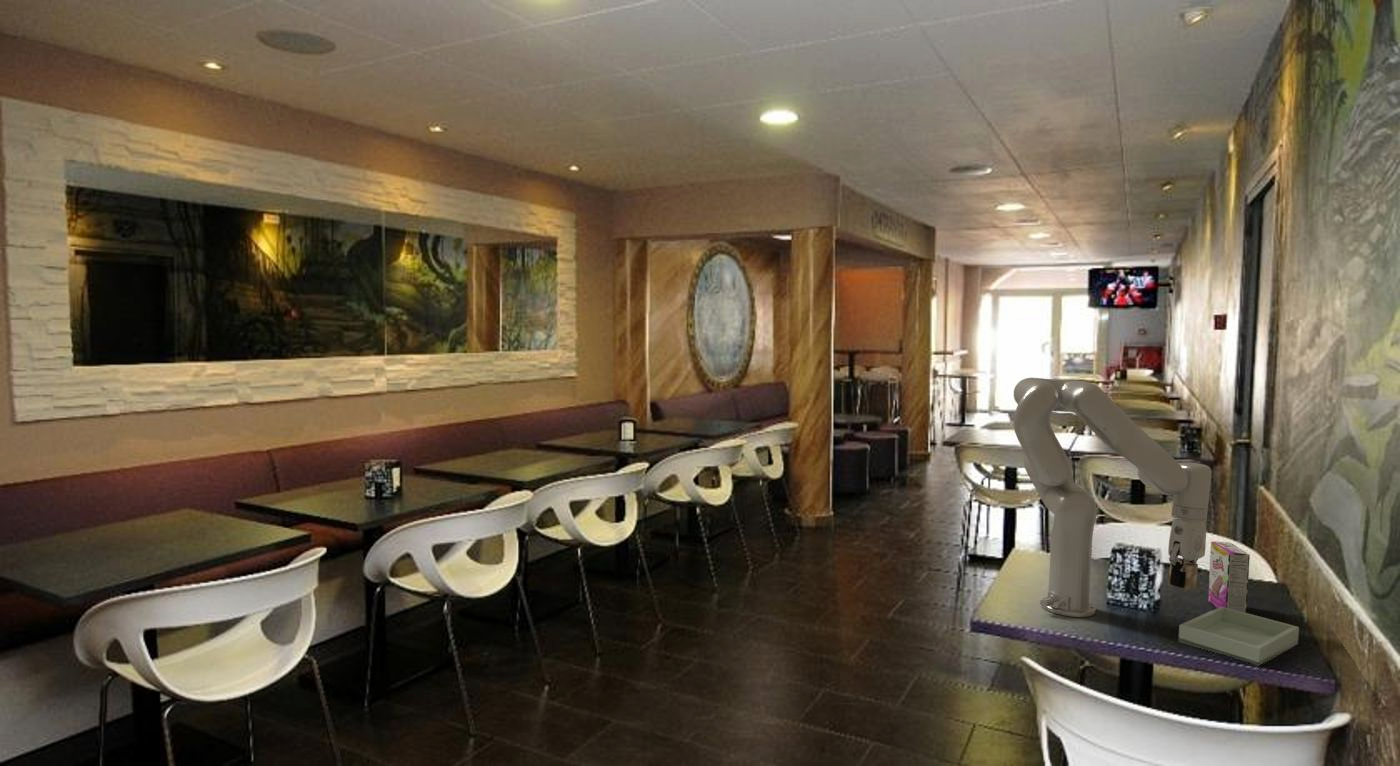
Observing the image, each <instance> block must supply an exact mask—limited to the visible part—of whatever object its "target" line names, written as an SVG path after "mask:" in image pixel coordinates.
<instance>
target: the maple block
mask: <svg viewBox="0 0 1400 766" xmlns="http://www.w3.org/2000/svg"><path fill="white" fill-rule="evenodd" d="M1178 562H1180V564H1181V563H1182V561H1179V560H1178ZM1198 569H1199V564H1198V563H1197V564H1195V563H1192V562H1188V561H1186V566H1185V570H1184V572H1186V577H1185V587H1184V588H1181V587H1177V586H1174V585H1171V584H1170V577H1171V563H1170V564H1169V573H1168V583H1167V585H1168V586H1171V587H1174V588H1177V589H1181V590H1183V591H1184V590H1185V591H1190V590H1193V589H1196V587H1197V580H1198V579H1197V578H1198Z"/></svg>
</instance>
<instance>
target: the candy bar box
mask: <svg viewBox="0 0 1400 766" xmlns="http://www.w3.org/2000/svg"><path fill="white" fill-rule="evenodd" d="M1250 556H1251V555H1250V553H1248V552H1247V551H1245V550H1243V549H1242V548H1239V547H1238V546H1237V545H1235V544H1234V543H1232V542H1230V541H1229V542H1228V541H1216V540H1215V541H1210V554H1209V557H1210V559H1209V577H1208V592H1207V593H1208V595H1207V603H1210V605H1212V606H1213V607H1215V609H1216V608H1219V607H1221V606H1222V607H1226V608H1229V609H1233V610H1237V611H1241V612H1244V613H1247V610H1248V609H1247V607H1248V593H1249V592H1248V590H1249V588H1248V587H1249V577H1250V576H1249V574H1250V573H1249V572H1250V558H1251V557H1250Z"/></svg>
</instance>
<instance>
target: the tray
mask: <svg viewBox="0 0 1400 766" xmlns="http://www.w3.org/2000/svg"><path fill="white" fill-rule="evenodd" d="M1178 626H1179V627H1178V643H1181V644H1184V645H1187V646H1190V647H1193V646H1194V648H1196V647H1197V649H1199V648H1201V649H1200V650H1203V649H1205V650H1204V651H1206V650H1208V651H1207V652H1209V651H1212V652H1215V653H1214V654H1216V653H1219V654H1224V655H1227V656H1232V657H1235V658H1237V659H1240V660H1244V661H1247V662H1250V663H1253V664H1255V665H1258V666H1259V665H1261V664H1263V663H1264V664H1266V663H1268V662H1270V661H1271V660H1273V659H1274V658H1276V657H1278V656H1280V655H1281V654H1283V653H1284V652H1287V651H1288V650H1290V649H1292V648H1293V647H1295V646H1297V645H1299V634H1300V632H1299V631H1300V629H1299V628H1300V627H1299V626H1297V625H1293V624H1289V623H1285V622H1281V621H1279V620H1274V619H1270V618H1267V617H1262V616H1258V615H1255V614H1251V613H1248V612H1246V613H1244V612H1241V611H1237V610H1233V609H1229V608H1226V607H1222V606H1221V607H1219V608H1216V607H1215V609H1213V610H1210V611H1208V612H1206V613H1205V612H1204V614H1201V615H1199V616H1197V617H1195V618H1192V619H1190V620H1187V621H1185V622H1183V623H1180V624H1179V625H1178ZM1212 652H1211V653H1212ZM1219 654H1218V655H1219ZM1269 660H1270V661H1269ZM1267 661H1268V662H1267ZM1265 662H1266V663H1265ZM1264 664H1263V665H1264ZM1261 666H1262V665H1261ZM1259 667H1260V666H1259Z"/></svg>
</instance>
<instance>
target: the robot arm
mask: <svg viewBox="0 0 1400 766" xmlns="http://www.w3.org/2000/svg"><path fill="white" fill-rule="evenodd" d="M1013 399H1014V400H1015V403H1016V404H1017V407H1016V409H1015V413H1014V416H1013V428H1014V433H1015V436H1016V437H1017V440H1018V443H1019V444H1020V447H1021V449H1022V451H1023V452H1024V458H1023V465H1024V469H1025V471H1026V473H1027V476H1028V477H1029V480H1030V482H1031V483H1032V484H1033V487H1034V489H1035V490H1036V492H1037V493H1038V495H1039V497H1040V499H1041V501H1042V503H1043V505H1044V506H1045V507H1046V508H1047V510H1048V511H1050V513H1052V514H1053V515H1054V516H1053V523H1052V528H1051V534H1050V549H1049V551H1050V553H1049V571H1048V572H1049V573H1048V574H1049V575H1048V591H1047V596H1046V597H1043V598H1042V599H1041V600H1040V602H1039V604H1040V606H1041V607H1042V608H1043V609H1045V610H1046V611H1049V612H1051V613H1053V614H1056V615H1061V616H1066V617H1072V618H1073V617H1074V618H1087V617H1092V616H1094V615H1095V614H1096V613H1097V612H1096V607H1095V605H1093V604H1092V603H1090V592H1091V590H1090V589H1091V574H1092V573H1091V571H1092V554H1093V553H1092V550H1093V538H1094V537H1093V535H1094V530H1095V529H1094V528H1095V525H1096V521H1097V512H1098V510H1097V504H1096V501H1095V499H1094V497H1093V495H1091V494H1090V492H1088V491H1087V490H1085V488H1082V486H1079V485H1077V483H1076V482H1075V480H1074V479H1073V477H1072V474H1073V466H1072V463H1071V460H1070V458H1069V456H1067V453H1066V452H1065V450H1064V448H1063V447H1062V445H1061V443H1060V441H1059V440H1058V438H1057V436H1056V434H1055V432H1054V429H1053V427H1052V424H1051V416H1052V413H1053V412H1060V413H1062V412H1064V413H1072V414H1075V415H1076V416H1077V417H1078V418H1079V419H1080V420H1081V421H1082V422H1083V423H1084V424H1085V425H1086V426H1087V427H1088V428H1089V429H1090V430H1091V431H1092V432H1093V433H1094V434H1095V435H1096V436H1097V437H1098V439H1099V440H1100V441H1101V442H1102V443H1103V444H1104V445H1105V446H1106V447H1108V448H1109V449H1111V450H1112V451H1113V452H1115V453H1116V454H1117V455H1120V456H1121V457H1123V458H1124V459H1126V460H1127V461H1128V462H1130V463H1131V464H1132V465H1133V466H1135V467H1136V468H1137V476H1138V479H1139V480H1140V482H1142V484H1144V485H1145V486H1147V488H1148V487H1149V488H1150V489H1153V490H1154V491H1157V492H1159V493H1161V494H1163V495H1165V496H1166V495H1167V496H1172V505H1171V515H1170V516H1171V517H1172V518H1173V519H1172V523H1171V527H1170V533H1169V541H1168V551H1167V553H1168V556H1169V558H1168V561H1169V562H1170V563H1171V577H1170V584H1171V585H1174V586H1177V587H1181V588H1184V587H1185V577H1186V572H1184V570H1185V566H1186V561H1188V562H1192V563H1195V564H1198V562H1197V561H1198V560H1199V559H1202V558H1204V557H1205V555H1206V544H1207V520H1208V513H1209V512H1208V511H1209V500H1210V490H1211V484H1212V483H1211V482H1212V469H1211V467H1210V466H1208V465H1206V464H1203V463H1199V462H1185V461H1184V462H1178V461H1177V460H1175V458H1174V457H1172V455H1171V454H1170V453H1169V452H1167V450H1165V449H1164V448H1163V447H1162V446H1161V445H1160V444H1159V443H1158V442H1157V441H1155V440H1154V439H1153V438H1152V437H1151V436H1149V434H1148V433H1147V432H1145V430H1143V429H1142V428H1141V427H1140V426H1138V425H1137V424H1136V423H1135V421H1134V420H1132V419H1131V417H1129V416H1128V415H1127V414H1126V413H1125V412H1124V411H1123V410H1122V408H1120V406H1119V405H1117V404H1116V403H1115V401H1114V400H1113V399H1112V398H1111V397H1110V396H1109V395H1108V394H1107V393H1106V392H1105V391H1104V390H1103V389H1102V388H1100V387H1099V385H1096V384H1094V383H1092V382H1088V381H1084V380H1075V379H1074V380H1073V379H1071V380H1070V379H1055V378H1052V379H1051V378H1040V377H1027V378H1023V379H1022V380H1020V381H1019V382H1017V384H1016V385H1015V387H1014V390H1013ZM1178 560H1179V561H1182V563H1181V564H1180V562H1178ZM1177 587H1176V588H1177Z"/></svg>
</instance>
